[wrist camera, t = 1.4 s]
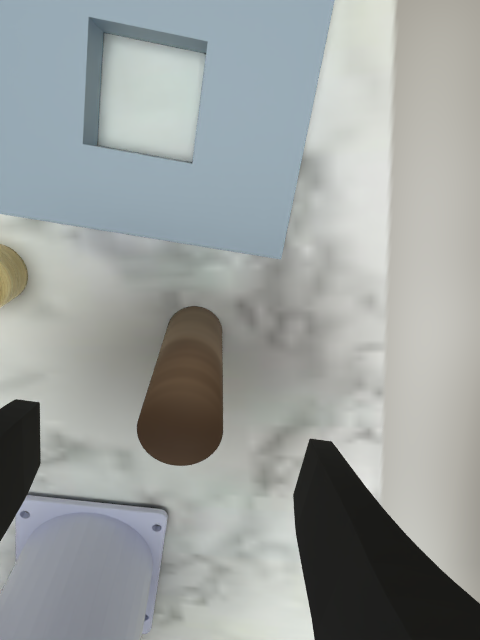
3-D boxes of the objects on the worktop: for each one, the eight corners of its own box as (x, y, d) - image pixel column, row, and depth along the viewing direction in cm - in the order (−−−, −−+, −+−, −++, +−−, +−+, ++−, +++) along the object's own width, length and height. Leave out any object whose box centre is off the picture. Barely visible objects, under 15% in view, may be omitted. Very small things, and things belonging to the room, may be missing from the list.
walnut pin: (217, 360, 22) (216, 470, 14) (164, 353, 21) (133, 460, 14) (226, 310, 21) (229, 398, 13) (170, 302, 20) (141, 387, 13)
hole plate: (275, 249, 20) (280, 259, 18) (-4, 203, 19) (-30, 209, 17) (328, -16, 16) (342, -38, 14) (-9, -92, 15) (-41, -127, 13)
